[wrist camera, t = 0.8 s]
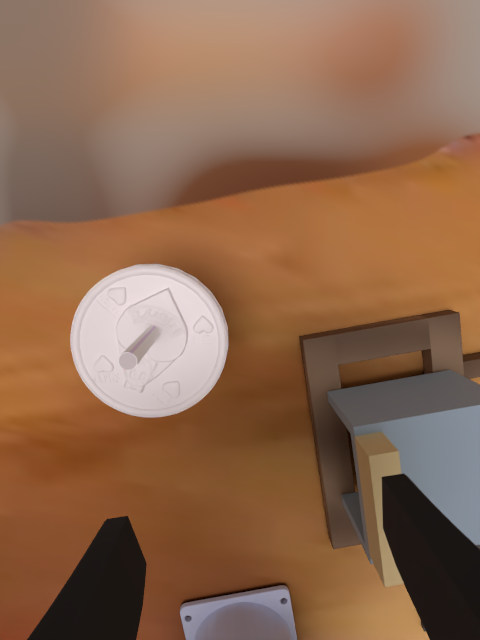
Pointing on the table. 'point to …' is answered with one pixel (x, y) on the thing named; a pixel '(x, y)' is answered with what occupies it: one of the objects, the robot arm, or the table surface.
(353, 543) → the puzzle board
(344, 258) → the table surface
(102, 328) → the smoothie
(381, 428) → the cover
